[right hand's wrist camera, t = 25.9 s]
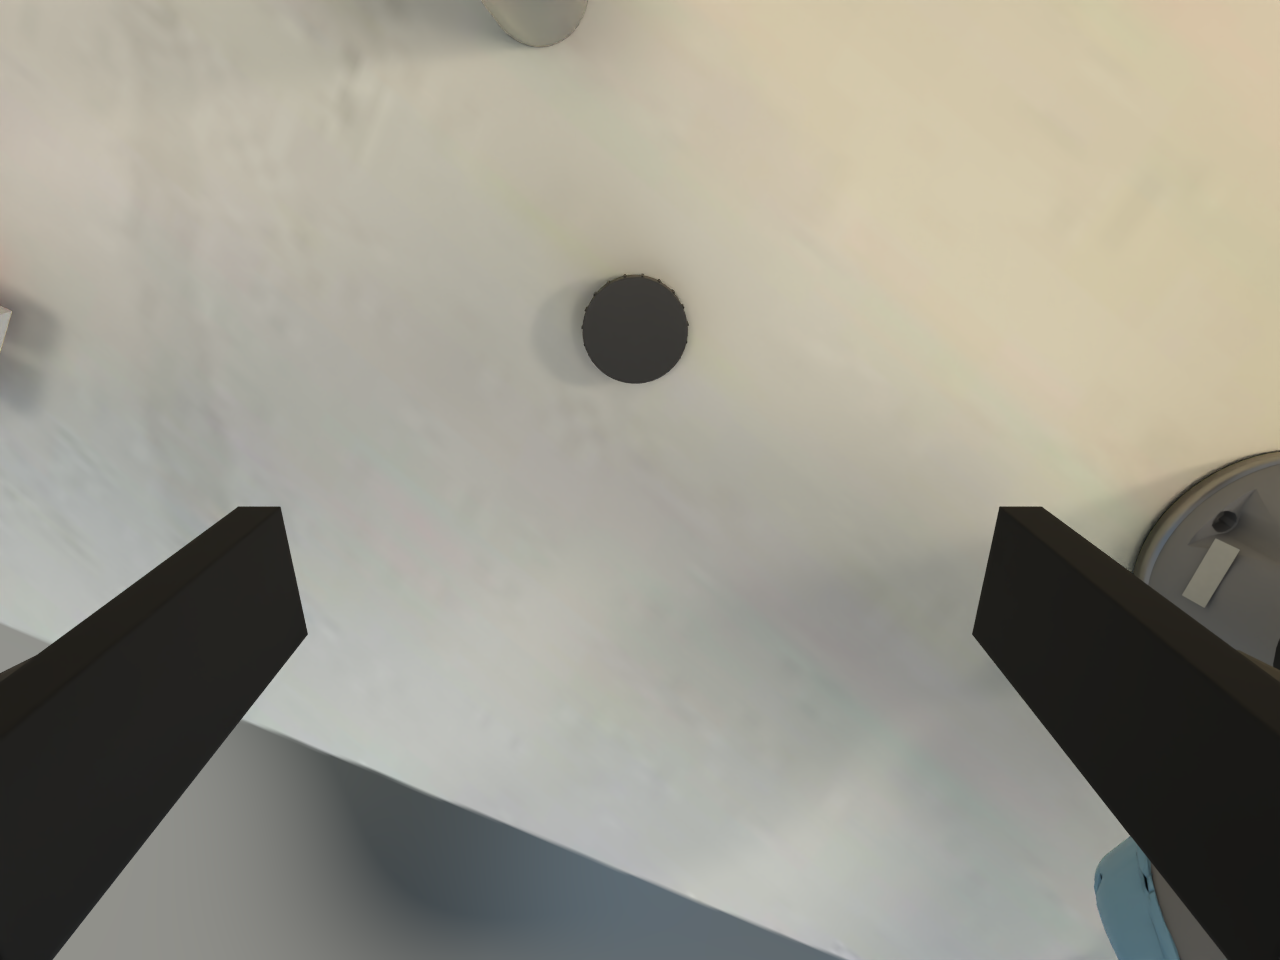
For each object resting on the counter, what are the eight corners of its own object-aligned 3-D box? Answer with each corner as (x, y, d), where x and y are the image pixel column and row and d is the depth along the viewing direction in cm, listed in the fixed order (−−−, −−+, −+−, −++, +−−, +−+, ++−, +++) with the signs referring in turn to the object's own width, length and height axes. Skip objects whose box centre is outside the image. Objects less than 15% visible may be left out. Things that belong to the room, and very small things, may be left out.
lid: (562, 332, 38) (559, 337, 37) (629, 249, 37) (629, 251, 35) (640, 398, 40) (640, 405, 38) (708, 321, 38) (711, 326, 37)
